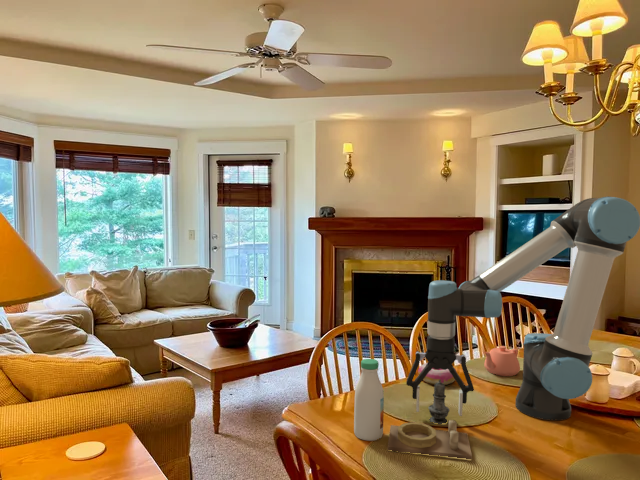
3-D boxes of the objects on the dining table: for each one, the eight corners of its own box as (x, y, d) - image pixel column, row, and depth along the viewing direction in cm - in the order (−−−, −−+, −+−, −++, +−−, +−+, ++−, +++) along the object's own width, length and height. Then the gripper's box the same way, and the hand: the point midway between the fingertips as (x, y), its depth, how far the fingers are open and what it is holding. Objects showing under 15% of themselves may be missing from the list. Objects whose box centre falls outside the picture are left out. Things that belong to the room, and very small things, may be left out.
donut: (437, 371, 177) (438, 358, 176) (465, 382, 165) (465, 368, 165) (410, 377, 170) (410, 363, 170) (437, 389, 158) (437, 375, 158)
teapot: (530, 373, 176) (531, 347, 175) (497, 381, 167) (498, 354, 166) (502, 363, 186) (503, 339, 186) (470, 370, 177) (471, 346, 177)
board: (467, 437, 125) (467, 418, 124) (471, 461, 113) (472, 439, 113) (390, 429, 129) (391, 410, 129) (387, 451, 117) (387, 430, 117)
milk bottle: (375, 444, 121) (376, 367, 119) (348, 436, 125) (349, 362, 123) (387, 432, 127) (389, 359, 126) (362, 425, 131) (363, 354, 130)
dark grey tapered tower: (449, 426, 131) (451, 384, 130) (428, 424, 132) (429, 382, 132) (448, 417, 137) (449, 376, 136) (427, 415, 138) (428, 375, 137)
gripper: (483, 335, 134) (480, 410, 136) (399, 329, 139) (397, 402, 141) (486, 342, 127) (483, 421, 128) (398, 336, 132) (396, 413, 133)
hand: (438, 411), depth 134 cm, fingers open, 11 cm apart
